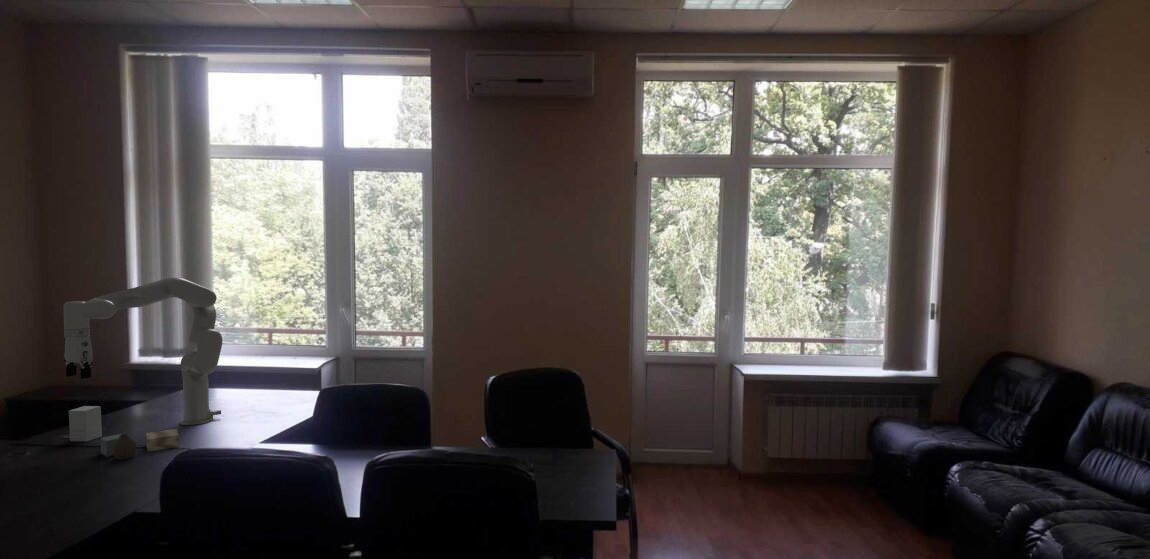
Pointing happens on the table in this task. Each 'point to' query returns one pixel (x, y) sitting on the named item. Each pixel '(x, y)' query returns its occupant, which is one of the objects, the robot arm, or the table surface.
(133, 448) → the vase
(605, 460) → the table surface
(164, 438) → the birch block
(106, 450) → the slate block
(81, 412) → the supplement box
